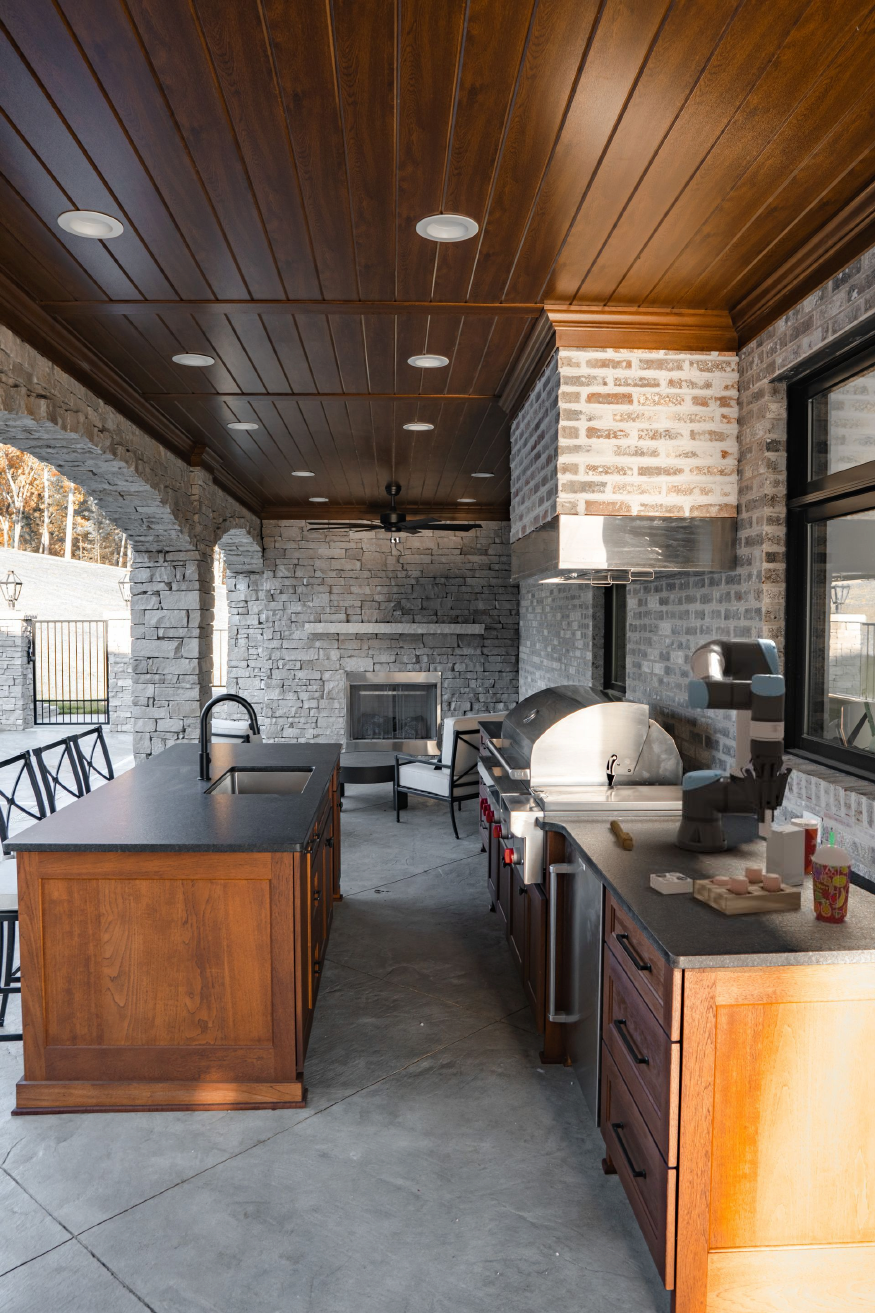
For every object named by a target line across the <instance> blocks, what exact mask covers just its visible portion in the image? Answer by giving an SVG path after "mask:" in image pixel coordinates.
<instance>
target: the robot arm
mask: <svg viewBox="0 0 875 1313" xmlns="http://www.w3.org/2000/svg"><path fill="white" fill-rule="evenodd" d="M777 649H778V648H777V645H776V643H775V642H774V641H773V639H767V638H766V639H764V638H716V639H712V640H709V641H707V642H706V643H703V644H702V645H700V646H698V647H697V648H696V649H695V650H694V652H693V653H692V654H691V656H690V662H689V663H690V670H691V672H692V673H693V675H694V679H690V680H688V684H687V705H688V707H689V708H690V709H696V710H697V709H698V710H722V711H723V710H725V711H727V710H728V711H729V710H730V711H736V719H735V720H736V721H735V722H736V724H735V726H736V727H735V756H734V757H735V760H734V764H735V765H734V766H733V767H732V768H731V769H729V775H724V774H723V773H722V770H719V769H718V770H717V769H716V770H714V769H713V770H712V769H705V770H704V769H703V770H702V769H701V770H696V771H690V772H686V773H685V774H684V775H683V777H682V784H681V788H680V789H681V792H682V793H681V794H682V795H681V797H682V798H681V821H680V824H679V825H678V829H677V832H676V834H675V842H674V843H675V846H677V847H678V848H680V849H682V850H688V851H693V852H698V853H699V852H700V853H717V852H718V853H719V852H723V851H725V850H727V847H728V846H727V838H726V835H725V831H724V829H723V825H722V815H733V816H745V817H746V816H748V817H753V818H756V821H757V823H758V836H761V837H763V838H767V837H771V827H773V826H772V825H773V824H772V823H774V822H775V811H777V810H779V809H778V807H779V808H780V807H782V806H783V803H784V798H785V793H786V790H787V786H788V780H789V777H790V775H791V773H793V772H792V771H793V768H792V767H790V766H787V765H786V764H785V763H784V760H783V755H784V752H785V750H784V749H785V748H784V744H785V743H784V740H783V738H784V736H785V732H784V731H785V694H786V693H785V692H786V687H785V686H786V685H785V677H784V676H783V675H781V674H780V661H779V656H778V655H779V654H778V650H777ZM724 678H731V680H725V679H724Z"/></svg>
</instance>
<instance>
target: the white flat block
mask: <svg viewBox="0 0 875 1313" xmlns="http://www.w3.org/2000/svg"><path fill="white" fill-rule="evenodd" d="M649 878H650V883H649V884H650V887H651V888H653V889H654V890H657V892H660V893H661V894H663V895H671V894H672V895H673V894H683V893H685V894H687V893H694V880H693V879H691V878H689V877H687V876H685V875H683V874H682V873H679V872H672V871H671V872H669V873H668V872H667V873H660V872H659V873H654V874H650V877H649Z"/></svg>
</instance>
